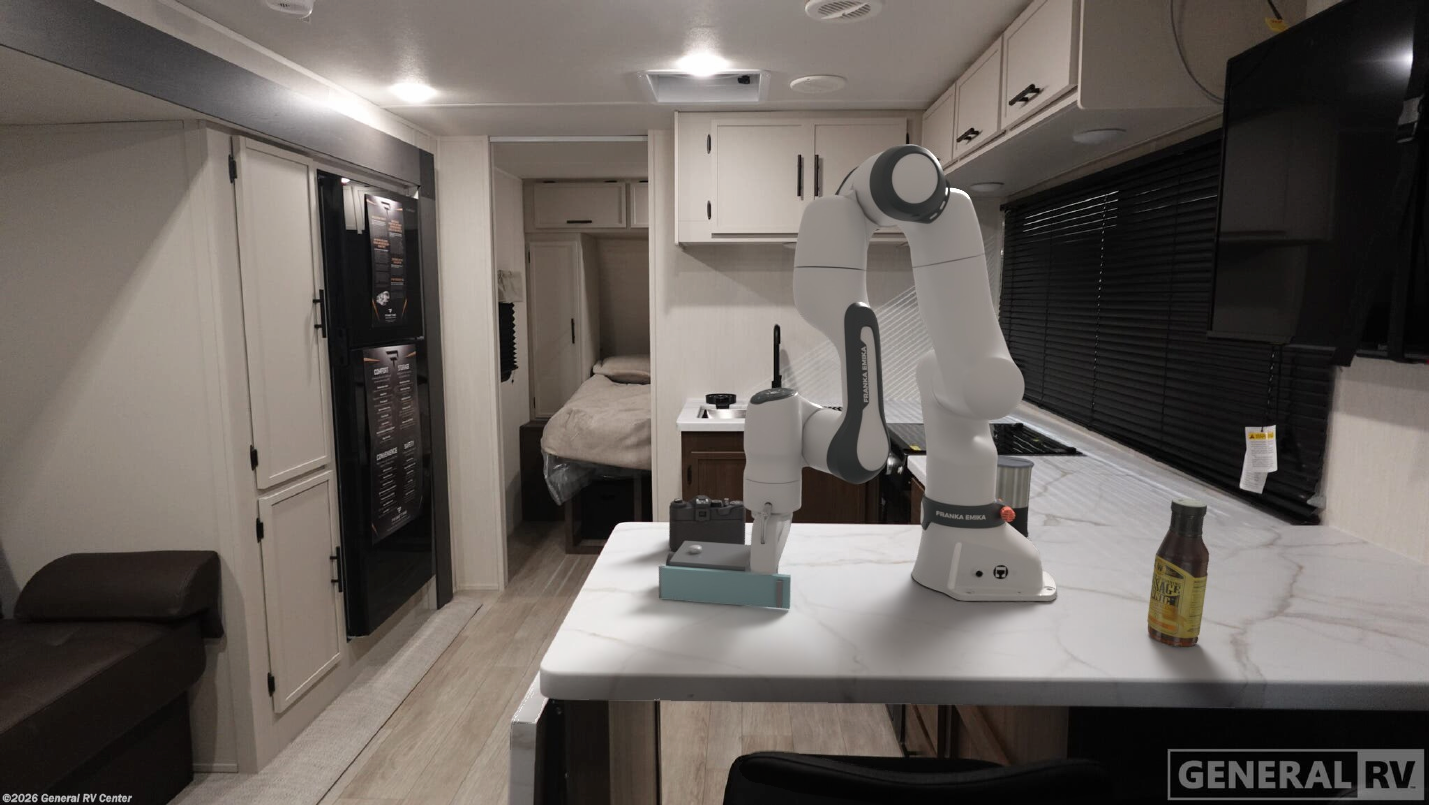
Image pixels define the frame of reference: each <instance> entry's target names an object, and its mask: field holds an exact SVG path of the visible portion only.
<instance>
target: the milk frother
mask: <svg viewBox="0 0 1429 805" xmlns="http://www.w3.org/2000/svg"><path fill="white" fill-rule="evenodd" d="M1035 465H1036V464H1035V463H1034V461H1032V460H1031V459H1026V458H1023V457H1018V456H1017V457H1016V456H1008V455H998V459H997V478H996V496H995V498H997V499H1000V500H1001V501H1002V502H1004V503H1005V504H1007V506H1008V507H1010V508H1011V509H1012V510H1013V512H1014V513H1015V514H1014V515H1015V519H1012V520H1013V521H1010V522H1007V521H1006V522H1007V523H1008V524H1010V525H1011V526H1012V527H1013V528H1015V529H1016V530H1017V531H1018V532H1019V533H1021V534H1022V535H1023V536H1024V537H1026V538H1027V536H1028V535H1029V530H1028V526H1029V524H1028V522H1029V506H1030V504H1029V503H1030V494H1031V493H1030V492H1031V481H1032V469H1033V467H1034V466H1035Z"/></svg>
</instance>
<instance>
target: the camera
mask: <svg viewBox="0 0 1429 805" xmlns="http://www.w3.org/2000/svg"><path fill="white" fill-rule="evenodd" d="M668 507H669V513H668V515H669V516H668V517H669V519H668V520H669V526H668V527H669V528H668V530H669V531H668V532H669V533H668V536H669V538H668V540H669V542H668V544H669V545H668V546H669V551H670V552H677V551H678V549H679V548H680V547H681V545H682V544H683V542H684V541H697V542H712V543H727V544H742V545H746V517H747V516H746V513H747V511H746V510H747V508H745V507H744V505H743V500H732V501H729V498H727V497H725V498H724V502H723V500H721V499H711V498H710V497H708V496H707V495H696V496H694V497H693V498H692V499H690V500H688V501H685V500H683V498H674V500H672V501H671V502H670V505H669V506H668Z"/></svg>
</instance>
